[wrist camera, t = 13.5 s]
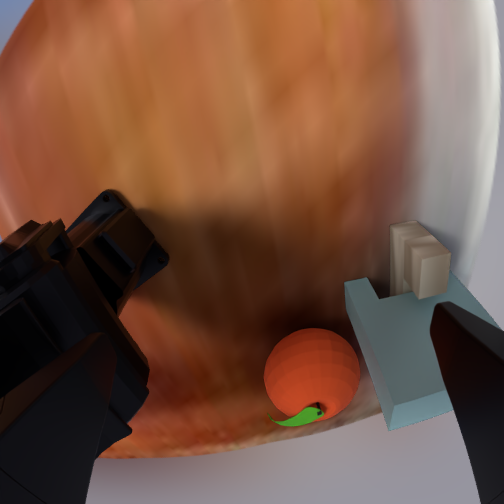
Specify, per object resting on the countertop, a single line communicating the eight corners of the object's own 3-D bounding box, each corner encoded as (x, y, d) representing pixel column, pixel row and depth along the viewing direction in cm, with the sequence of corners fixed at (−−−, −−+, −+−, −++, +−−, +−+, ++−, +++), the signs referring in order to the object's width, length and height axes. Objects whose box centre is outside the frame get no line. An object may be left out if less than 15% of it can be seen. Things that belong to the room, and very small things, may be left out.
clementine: (293, 388, 27) (300, 454, 21) (235, 352, 25) (231, 424, 19) (364, 339, 25) (389, 405, 18) (310, 292, 23) (329, 363, 16)
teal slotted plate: (345, 308, 23) (388, 431, 14) (344, 281, 22) (394, 405, 12) (438, 287, 23) (509, 385, 13) (441, 261, 22) (522, 357, 12)
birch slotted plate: (387, 336, 25) (407, 379, 20) (389, 225, 20) (421, 259, 16) (408, 330, 25) (430, 372, 20) (415, 220, 20) (451, 252, 16)
